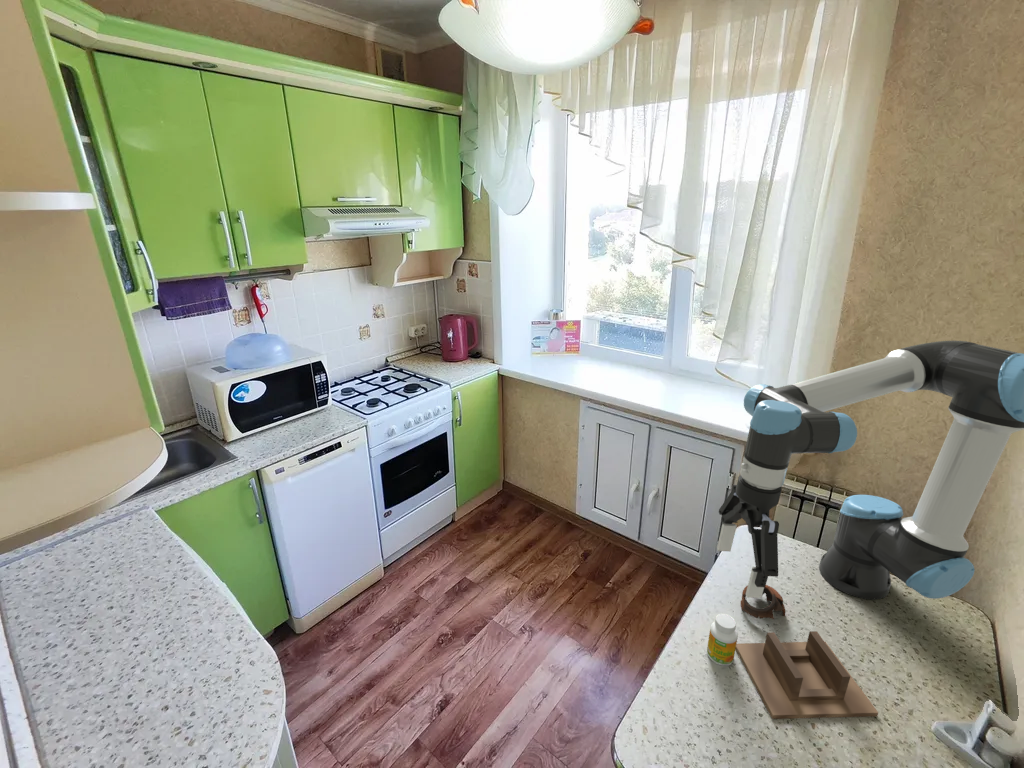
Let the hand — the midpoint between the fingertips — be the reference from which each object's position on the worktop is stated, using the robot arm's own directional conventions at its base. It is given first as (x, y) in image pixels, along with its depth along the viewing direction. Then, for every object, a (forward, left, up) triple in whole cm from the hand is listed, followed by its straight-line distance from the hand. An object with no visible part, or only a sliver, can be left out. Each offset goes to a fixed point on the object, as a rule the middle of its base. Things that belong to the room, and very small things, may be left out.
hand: (737, 571), depth 98 cm
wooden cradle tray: (-13, +7, -21) cm, 26 cm away
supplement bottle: (+1, +1, -21) cm, 22 cm away
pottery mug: (-14, -12, -22) cm, 28 cm away
